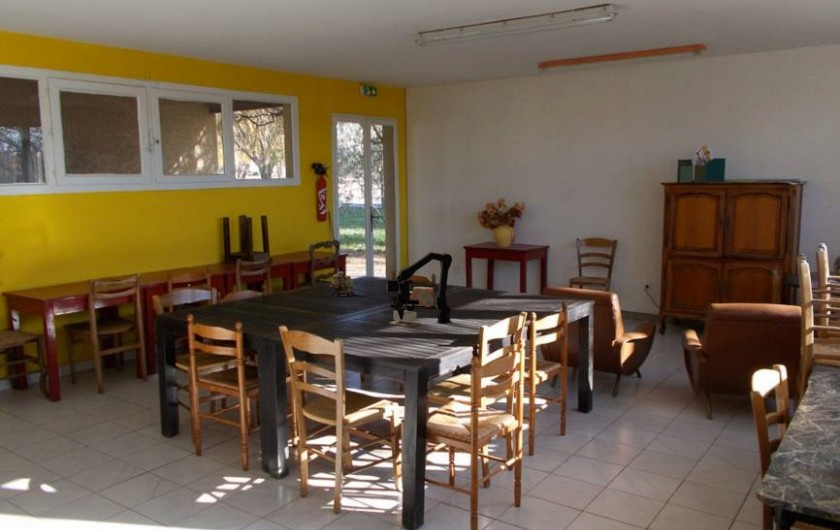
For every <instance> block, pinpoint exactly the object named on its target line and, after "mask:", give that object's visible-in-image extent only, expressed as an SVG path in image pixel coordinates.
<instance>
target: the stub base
mask: <svg viewBox="0 0 840 530" xmlns="http://www.w3.org/2000/svg"><path fill="white" fill-rule="evenodd" d="M388 323H389V325H392V324H393V325H392V326H397V325H398V327H403V326H404V328H409V327H410V328H413V327H412V326H414V327H417V326H416V325H418V326H420V324H421V325H422V323H421V322H418V321H414V322H410V323H409V322H403V321H397V320H393V321H390V322H388Z"/></svg>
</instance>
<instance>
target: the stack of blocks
mask: <svg viewBox="0 0 840 530" xmlns="http://www.w3.org/2000/svg"><path fill="white" fill-rule="evenodd" d="M398 293H400V291H399V292H398ZM410 293H411V295H410V299H418V300H419V304H418V305H416V306H425V307H424V308H427V307H431V306H433V307H434V296H435V295H434V287H428V286H426V287H425V286H414V287H413V288H412V291H411V290H410ZM398 303H400V302H398ZM414 305H415V304H414ZM403 307H406V306H405V305H404V306H403ZM431 308H432V307H431Z"/></svg>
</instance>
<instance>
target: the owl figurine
mask: <svg viewBox="0 0 840 530" xmlns="http://www.w3.org/2000/svg"><path fill="white" fill-rule="evenodd" d="M345 275H346V274H345V272H344V271H338V273H335V274H333V275H332V281H331V285H329V288H330V289H331V290H333V292H331V293H330V295H331V294H332V295H339V296H340V295H350V294H354V293H355V292H354V290H355V289H356V288H355V287H354V279H352V277H351V275H346V276H345Z"/></svg>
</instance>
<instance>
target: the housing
mask: <svg viewBox="0 0 840 530" xmlns="http://www.w3.org/2000/svg"><path fill="white" fill-rule="evenodd" d="M392 313H393V321H403V322H409V323H410V322H418V321H417V319H418V318H417V311H413V312H412V311H407V310H406V309H404V314H403V319H402V320H401V319H400V317H399V314H398V312H397V310H393V312H392Z"/></svg>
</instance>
